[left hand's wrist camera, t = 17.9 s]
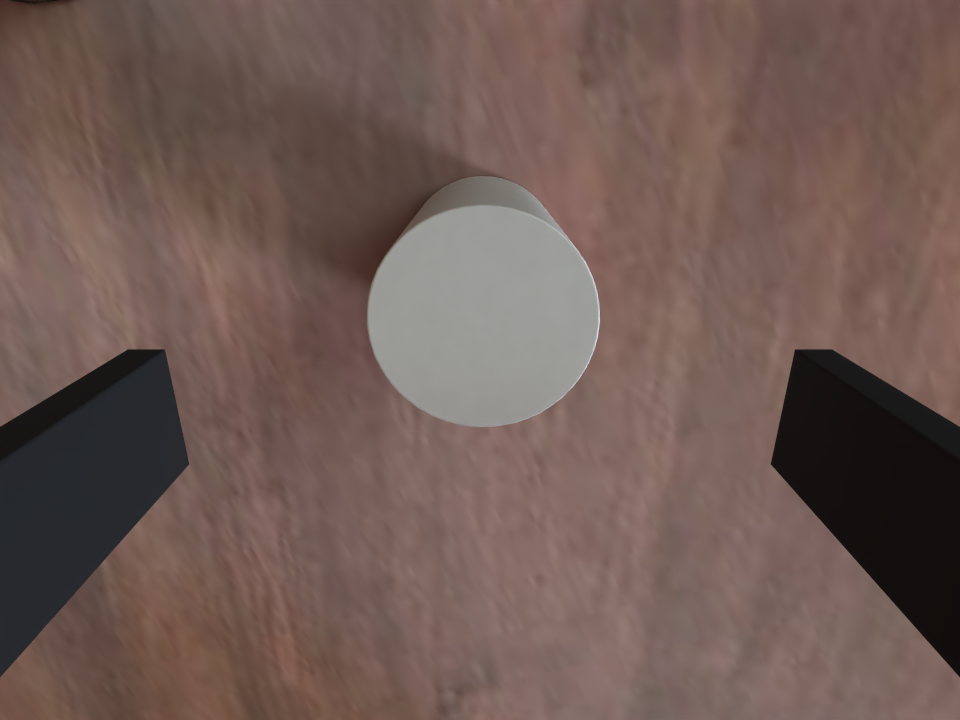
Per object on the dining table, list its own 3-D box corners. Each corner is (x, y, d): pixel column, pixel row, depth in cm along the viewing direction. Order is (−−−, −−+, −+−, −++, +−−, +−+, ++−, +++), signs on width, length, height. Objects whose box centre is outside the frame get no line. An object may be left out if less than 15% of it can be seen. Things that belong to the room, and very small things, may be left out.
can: (393, 189, 25) (341, 225, 16) (549, 164, 25) (590, 186, 15) (422, 335, 27) (392, 440, 18) (564, 314, 27) (608, 412, 18)
